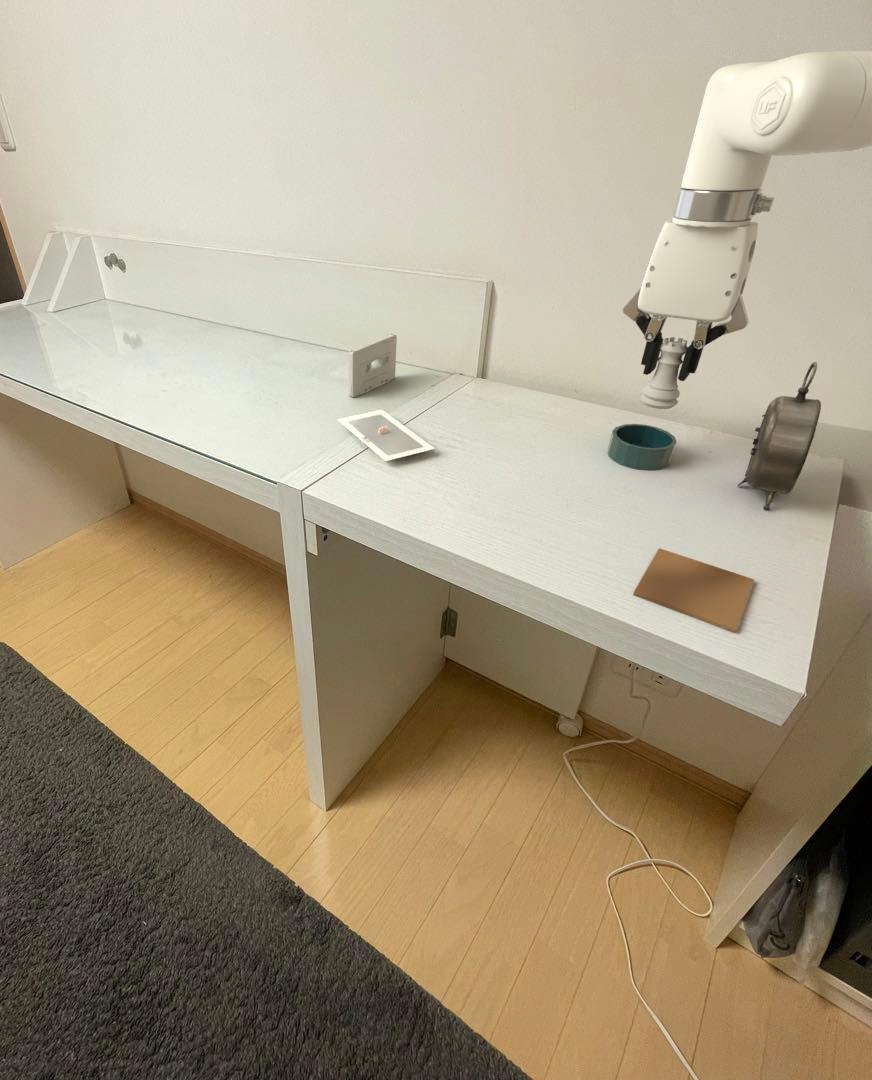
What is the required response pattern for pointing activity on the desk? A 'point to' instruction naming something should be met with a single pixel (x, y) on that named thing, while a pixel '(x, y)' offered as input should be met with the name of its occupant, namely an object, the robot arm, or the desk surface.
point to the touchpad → (385, 435)
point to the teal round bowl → (641, 446)
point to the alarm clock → (783, 442)
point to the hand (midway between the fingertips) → (666, 373)
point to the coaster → (696, 589)
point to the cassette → (369, 375)
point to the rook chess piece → (665, 376)
